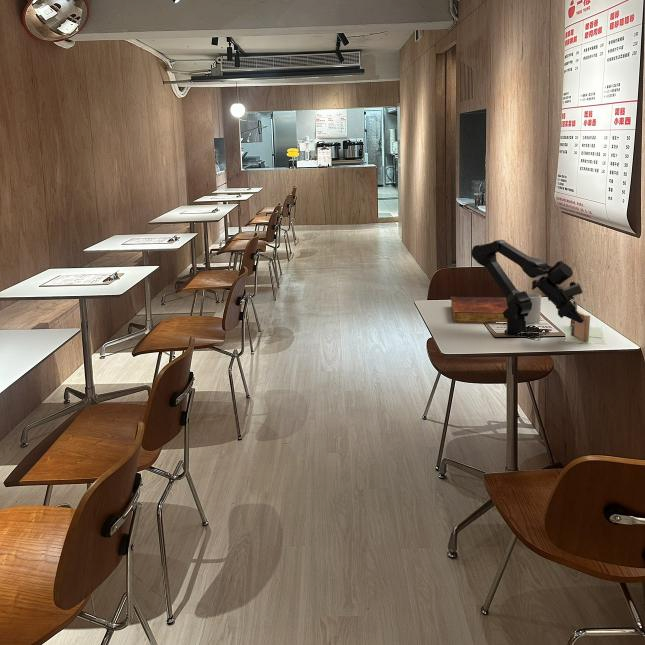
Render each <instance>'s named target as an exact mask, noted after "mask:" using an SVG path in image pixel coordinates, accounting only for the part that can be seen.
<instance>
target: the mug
mask: <svg viewBox="0 0 645 645" xmlns="http://www.w3.org/2000/svg"><path fill="white" fill-rule="evenodd" d="M526 293H527V295H528V297H529V298H531V300H530V301H531V302H532V309H531V311H530V312H529V314H528V316H525V321H526V323H530V324H529V325H535V323H537V324H540V323H541V310H542V309H541V305H542V295H541V294H539V293H532V292H530V293H529V292H526ZM539 322H540V323H539Z"/></svg>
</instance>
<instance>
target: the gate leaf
mask: <svg viewBox="0 0 645 645" xmlns="http://www.w3.org/2000/svg"><path fill="white" fill-rule="evenodd" d="M577 311H578V313H579V315H580V316H581V318H582V320H583V322H582V323H579V322H577V321H575V329H574V335H575V336H577V337H578V338H580V339H582V340H583V341H589V327H591V326H590V325H591V324H590V323H591V315H588V314H585V313H583V312H582V311H579V310H577Z"/></svg>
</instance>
